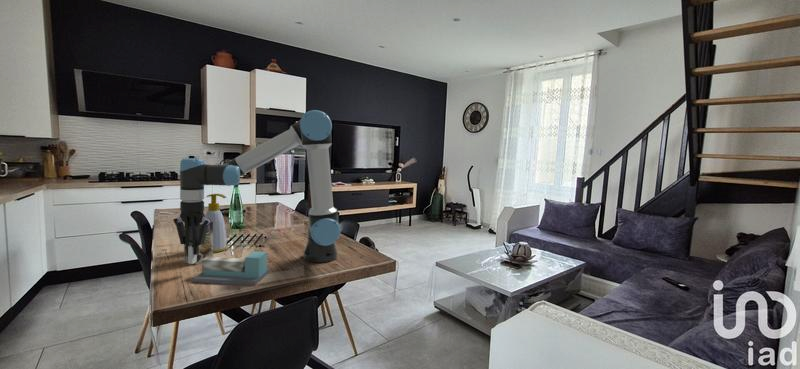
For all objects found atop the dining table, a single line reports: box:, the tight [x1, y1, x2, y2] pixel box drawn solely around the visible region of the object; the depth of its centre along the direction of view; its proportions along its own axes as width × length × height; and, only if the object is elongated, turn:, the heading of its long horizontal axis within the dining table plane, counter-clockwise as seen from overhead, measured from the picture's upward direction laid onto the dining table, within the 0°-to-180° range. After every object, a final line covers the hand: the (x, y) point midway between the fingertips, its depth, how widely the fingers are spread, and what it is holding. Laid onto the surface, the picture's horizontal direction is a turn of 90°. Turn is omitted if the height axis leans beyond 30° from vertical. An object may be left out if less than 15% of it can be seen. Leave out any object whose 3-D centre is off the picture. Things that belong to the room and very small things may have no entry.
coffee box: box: [183, 222, 214, 265], centre depth 142 cm, size 9×6×16 cm
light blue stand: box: [192, 250, 271, 286], centre depth 127 cm, size 22×14×9 cm, turn 90°
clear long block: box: [201, 256, 245, 273], centre depth 127 cm, size 15×4×5 cm, turn 90°
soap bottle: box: [204, 193, 228, 254], centre depth 157 cm, size 11×12×26 cm
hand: (192, 262), depth 128 cm, fingers closed
